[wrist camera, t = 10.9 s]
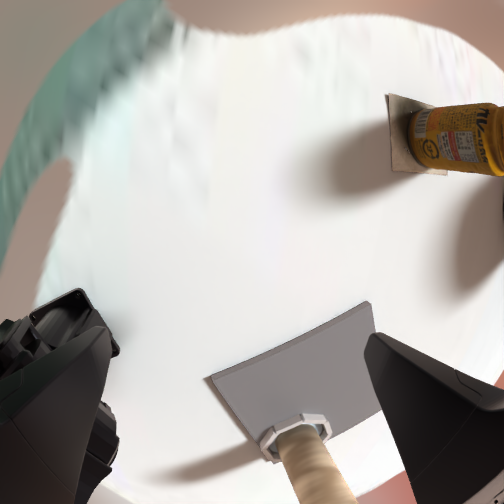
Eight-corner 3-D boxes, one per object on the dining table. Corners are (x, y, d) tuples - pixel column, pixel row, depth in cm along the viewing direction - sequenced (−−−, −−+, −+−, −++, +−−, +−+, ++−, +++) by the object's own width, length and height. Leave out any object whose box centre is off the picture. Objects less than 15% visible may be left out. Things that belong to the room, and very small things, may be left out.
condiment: (446, 175, 25) (539, 189, 13) (391, 170, 23) (504, 183, 12) (442, 109, 23) (534, 104, 11) (386, 93, 21) (493, 70, 10)
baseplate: (272, 459, 30) (275, 469, 28) (211, 375, 24) (213, 388, 22) (380, 405, 32) (387, 413, 30) (366, 300, 26) (377, 308, 24)
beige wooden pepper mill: (276, 453, 28) (319, 551, 14) (272, 432, 27) (322, 544, 13) (315, 441, 29) (367, 532, 15) (315, 418, 28) (376, 520, 14)
